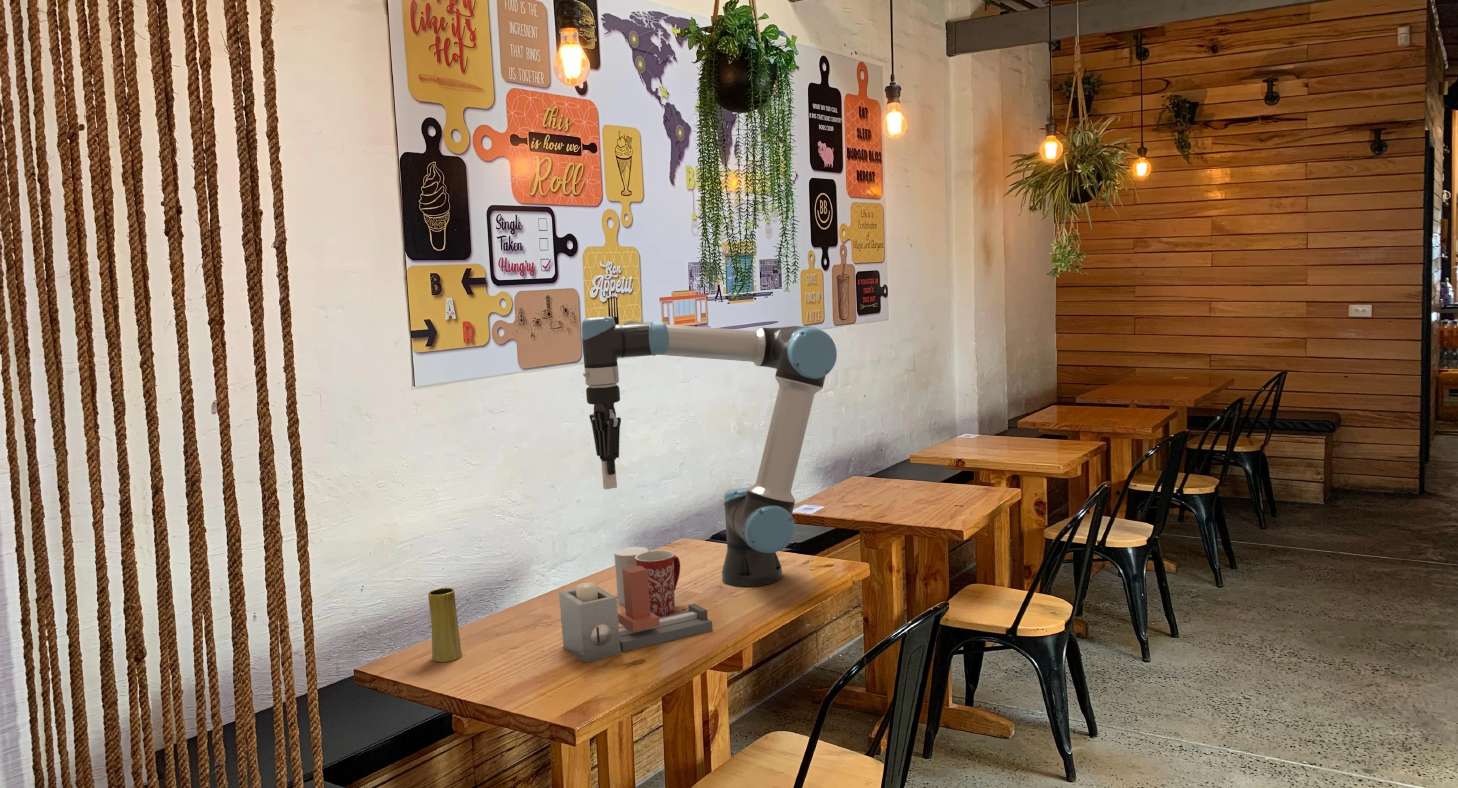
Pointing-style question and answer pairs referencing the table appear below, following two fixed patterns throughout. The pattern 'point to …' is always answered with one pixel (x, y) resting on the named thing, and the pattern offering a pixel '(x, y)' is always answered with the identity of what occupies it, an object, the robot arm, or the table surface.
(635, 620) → the carriage
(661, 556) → the mug
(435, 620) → the vase
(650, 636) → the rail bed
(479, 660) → the table surface
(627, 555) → the cup
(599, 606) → the grey box holder
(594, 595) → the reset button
